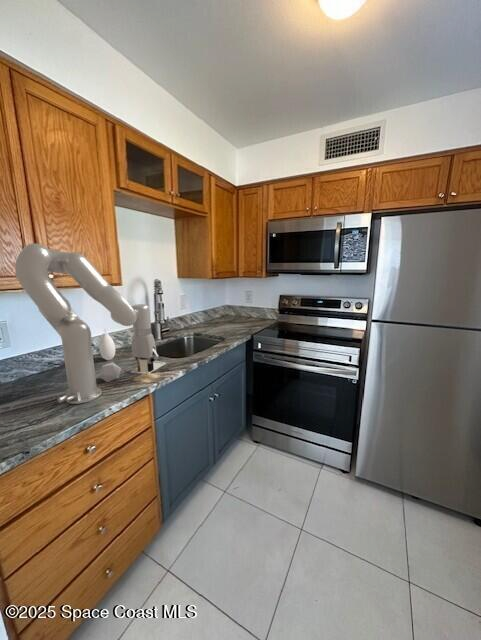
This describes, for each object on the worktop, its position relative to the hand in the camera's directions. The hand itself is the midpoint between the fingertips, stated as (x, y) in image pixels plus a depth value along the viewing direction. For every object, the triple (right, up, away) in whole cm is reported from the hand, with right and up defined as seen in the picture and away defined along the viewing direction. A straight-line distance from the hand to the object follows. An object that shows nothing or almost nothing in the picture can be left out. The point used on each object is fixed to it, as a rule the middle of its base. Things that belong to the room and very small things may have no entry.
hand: (146, 370), depth 122 cm
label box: (0, 0, 0) cm, 0 cm away
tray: (-3, -2, +13) cm, 13 cm away
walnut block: (-5, -2, +9) cm, 10 cm away
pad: (0, -4, +1) cm, 4 cm away
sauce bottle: (-31, 0, +27) cm, 41 cm away
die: (-16, -5, 0) cm, 17 cm away
